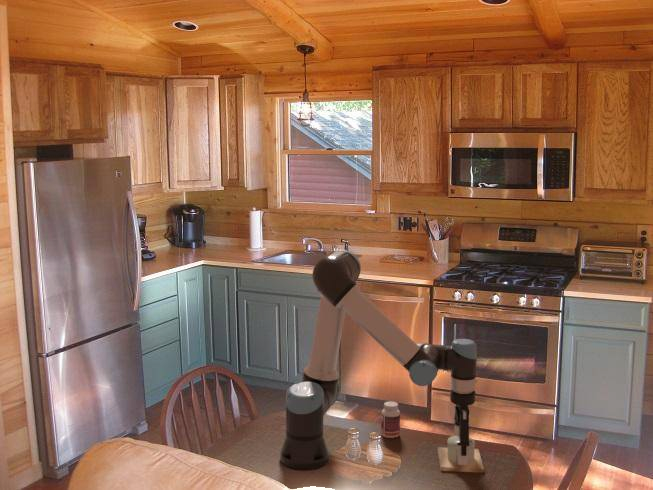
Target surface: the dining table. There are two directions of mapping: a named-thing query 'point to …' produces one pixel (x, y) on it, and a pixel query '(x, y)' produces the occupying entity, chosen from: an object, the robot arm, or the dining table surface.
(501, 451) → the dining table surface
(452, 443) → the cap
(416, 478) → the dining table surface
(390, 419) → the pill bottle
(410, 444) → the dining table surface
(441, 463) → the stud board
